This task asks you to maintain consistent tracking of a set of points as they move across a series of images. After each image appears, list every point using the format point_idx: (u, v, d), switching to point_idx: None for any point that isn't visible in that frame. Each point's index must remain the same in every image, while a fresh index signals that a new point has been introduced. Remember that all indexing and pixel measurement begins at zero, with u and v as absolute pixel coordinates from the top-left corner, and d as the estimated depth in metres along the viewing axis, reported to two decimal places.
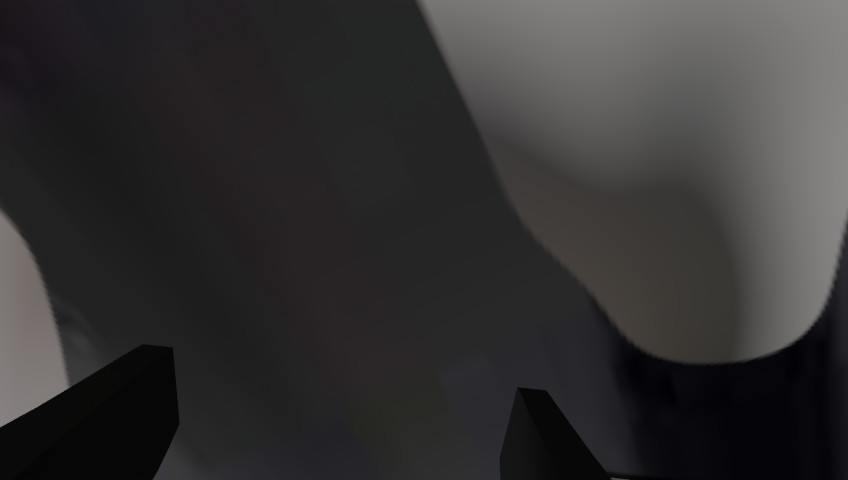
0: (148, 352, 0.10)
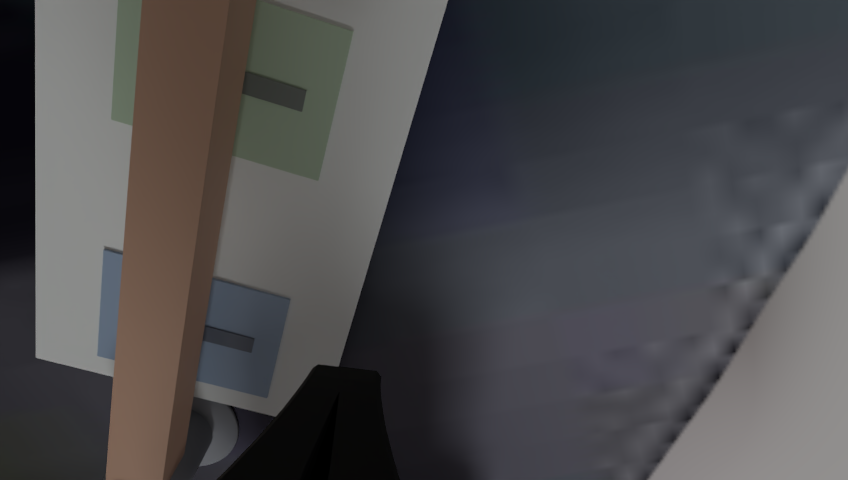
0: (330, 373, 0.10)
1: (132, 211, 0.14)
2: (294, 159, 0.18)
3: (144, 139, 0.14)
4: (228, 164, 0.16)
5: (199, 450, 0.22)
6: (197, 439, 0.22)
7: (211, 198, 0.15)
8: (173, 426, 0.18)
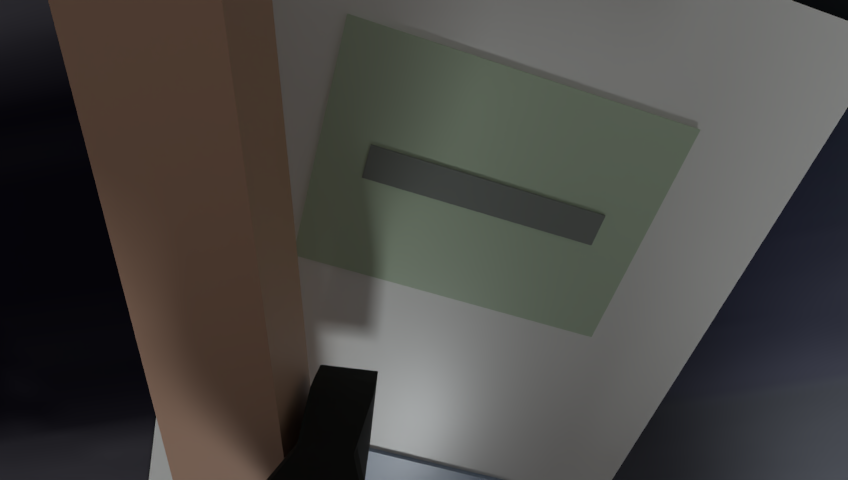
0: (362, 377, 0.10)
1: (170, 432, 0.08)
2: (560, 307, 0.12)
3: (153, 320, 0.08)
4: (299, 301, 0.10)
5: None
6: None
7: (287, 371, 0.09)
8: None
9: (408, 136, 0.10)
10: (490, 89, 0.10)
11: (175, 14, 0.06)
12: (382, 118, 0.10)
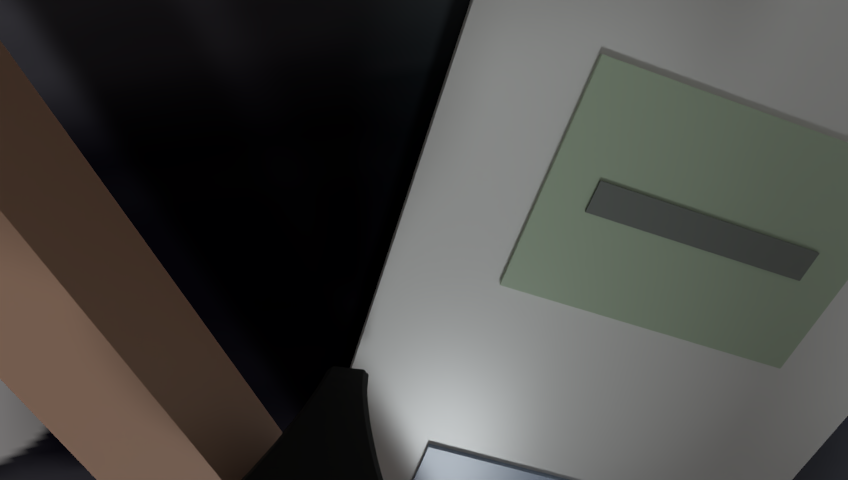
0: (345, 375, 0.10)
1: None
2: (753, 339, 0.12)
3: (74, 434, 0.08)
4: (226, 364, 0.10)
5: None
6: None
7: (226, 434, 0.09)
8: None
9: (636, 172, 0.10)
10: (729, 129, 0.10)
11: None
12: (616, 155, 0.10)
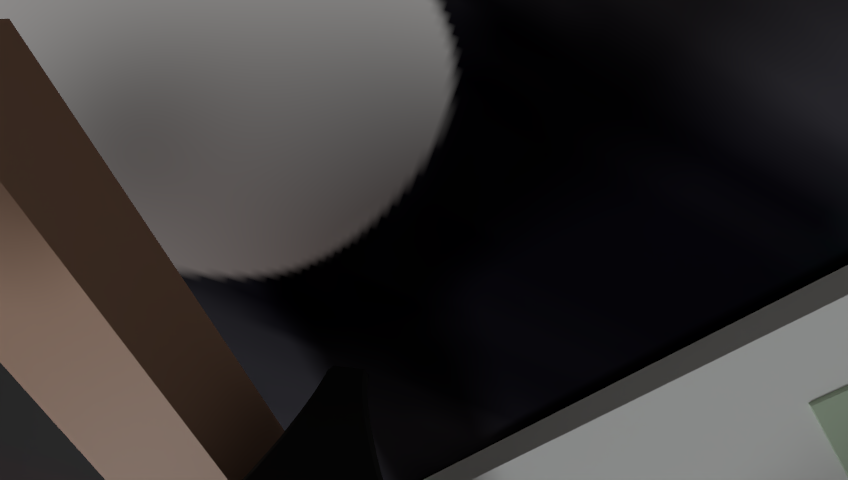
0: (346, 375, 0.10)
1: None
2: None
3: (80, 428, 0.08)
4: (231, 362, 0.10)
5: None
6: None
7: (230, 431, 0.09)
8: None
9: None
10: None
11: None
12: None
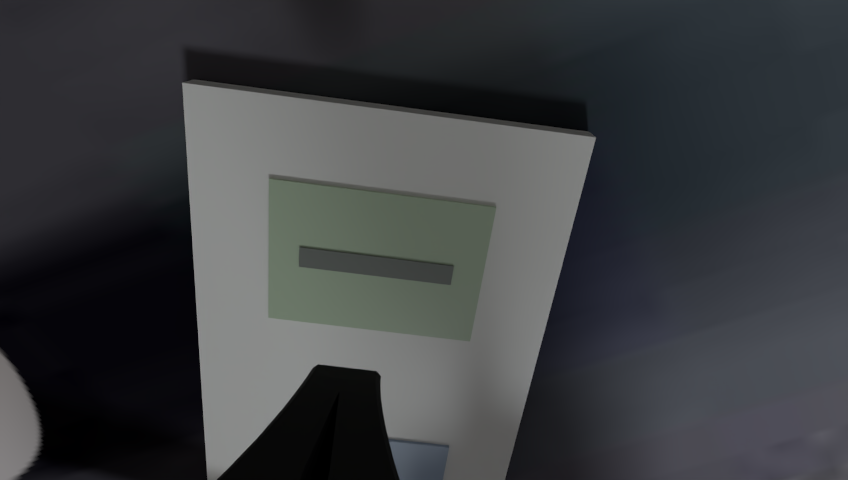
0: (330, 373, 0.10)
1: None
2: (445, 325, 0.18)
3: None
4: None
5: None
6: None
7: None
8: None
9: (321, 238, 0.17)
10: (362, 205, 0.16)
11: None
12: (303, 231, 0.16)
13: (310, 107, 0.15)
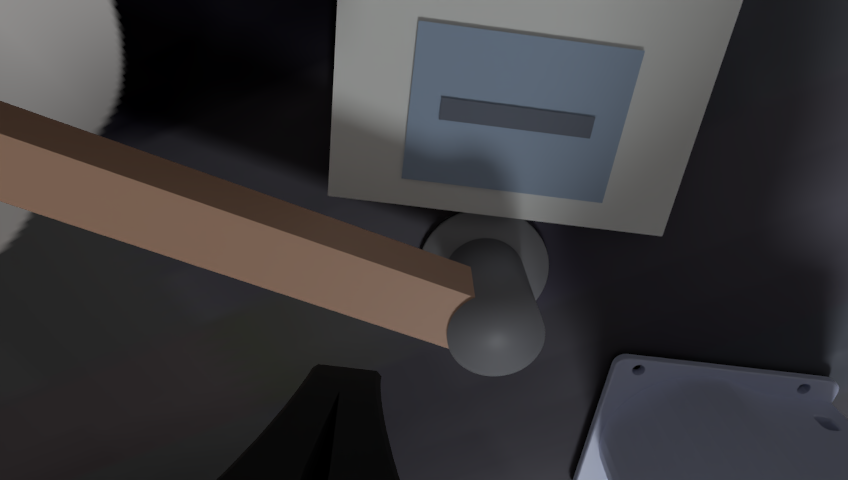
0: (330, 373, 0.10)
1: (83, 222, 0.15)
2: None
3: (3, 191, 0.14)
4: (78, 130, 0.15)
5: (487, 252, 0.18)
6: (474, 252, 0.18)
7: (80, 148, 0.14)
8: (375, 257, 0.15)
9: None
10: None
11: None
12: None
13: None
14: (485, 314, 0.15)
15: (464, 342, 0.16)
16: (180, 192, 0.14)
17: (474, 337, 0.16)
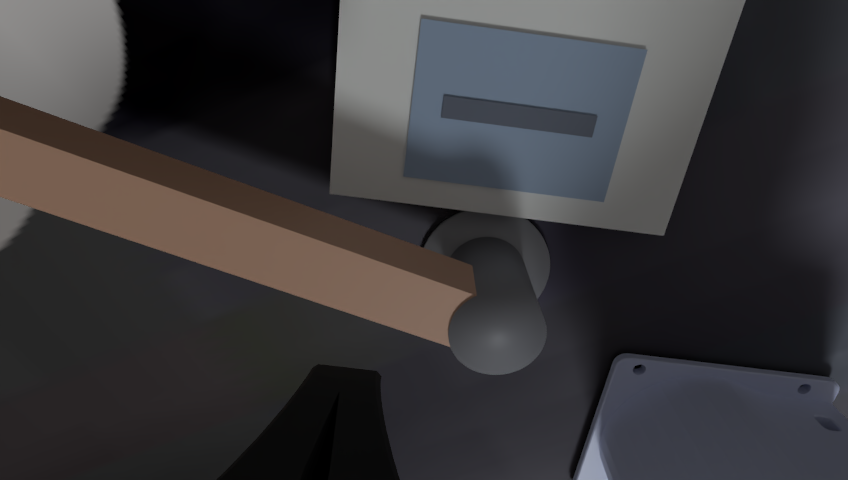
0: (329, 373, 0.10)
1: (84, 219, 0.15)
2: None
3: (4, 187, 0.14)
4: (79, 127, 0.15)
5: (488, 251, 0.18)
6: (476, 250, 0.18)
7: (81, 145, 0.14)
8: (376, 255, 0.15)
9: None
10: None
11: None
12: None
13: None
14: (487, 313, 0.15)
15: (465, 341, 0.16)
16: (182, 189, 0.14)
17: (475, 335, 0.16)
